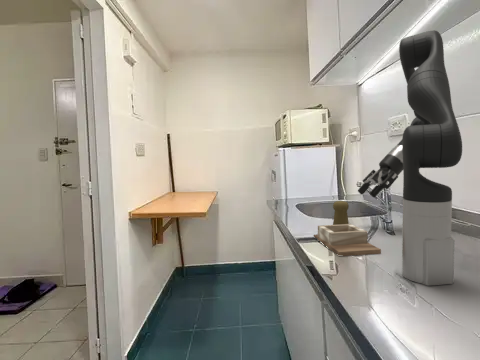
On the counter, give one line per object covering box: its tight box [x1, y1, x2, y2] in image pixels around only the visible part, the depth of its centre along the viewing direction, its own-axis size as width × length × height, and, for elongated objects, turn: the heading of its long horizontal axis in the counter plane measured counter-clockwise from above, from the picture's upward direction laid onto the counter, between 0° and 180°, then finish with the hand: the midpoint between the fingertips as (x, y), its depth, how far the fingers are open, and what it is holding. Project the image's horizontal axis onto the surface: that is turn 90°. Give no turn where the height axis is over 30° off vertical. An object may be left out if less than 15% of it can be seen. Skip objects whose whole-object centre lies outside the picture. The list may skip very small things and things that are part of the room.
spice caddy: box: [313, 223, 382, 257], centre depth 100 cm, size 20×12×5 cm, turn 7°
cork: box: [332, 200, 350, 225], centre depth 116 cm, size 6×6×11 cm
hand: (365, 194), depth 116 cm, fingers open, 8 cm apart
